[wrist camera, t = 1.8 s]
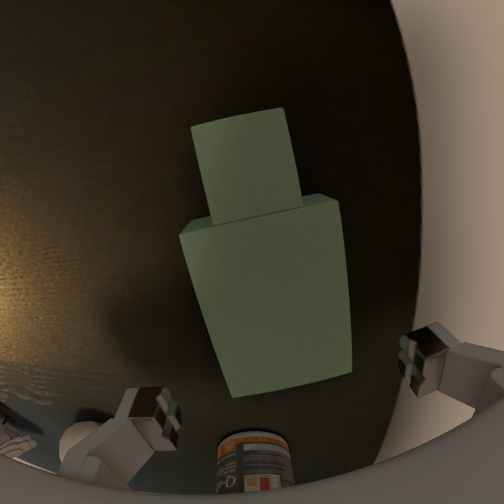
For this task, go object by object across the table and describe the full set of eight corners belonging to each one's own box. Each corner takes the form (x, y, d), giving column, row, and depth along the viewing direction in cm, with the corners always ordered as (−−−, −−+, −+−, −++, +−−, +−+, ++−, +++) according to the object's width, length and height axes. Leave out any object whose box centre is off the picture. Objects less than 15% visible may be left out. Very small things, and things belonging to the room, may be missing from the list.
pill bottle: (217, 426, 19) (211, 543, 9) (292, 426, 19) (313, 539, 9) (218, 461, 20) (215, 556, 11) (283, 461, 21) (296, 554, 11)
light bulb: (91, 498, 17) (121, 512, 12) (41, 456, 16) (45, 452, 11) (121, 459, 22) (161, 452, 17) (75, 419, 22) (95, 397, 17)
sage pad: (171, 142, 13) (154, 137, 10) (303, 114, 13) (319, 102, 10) (232, 364, 17) (232, 398, 14) (337, 341, 17) (352, 372, 14)
